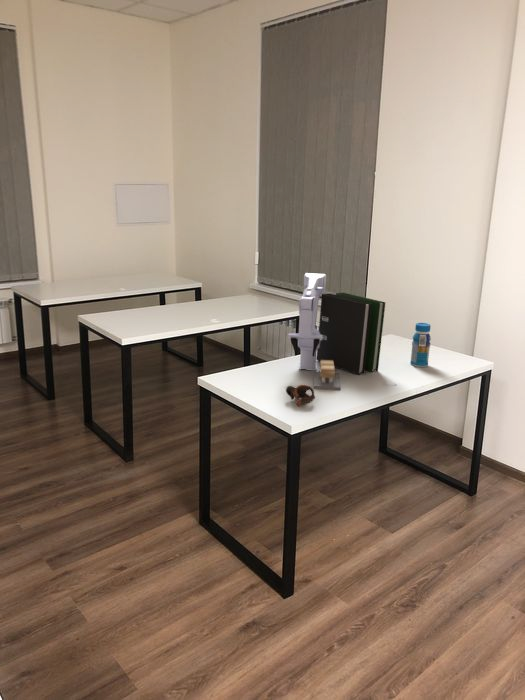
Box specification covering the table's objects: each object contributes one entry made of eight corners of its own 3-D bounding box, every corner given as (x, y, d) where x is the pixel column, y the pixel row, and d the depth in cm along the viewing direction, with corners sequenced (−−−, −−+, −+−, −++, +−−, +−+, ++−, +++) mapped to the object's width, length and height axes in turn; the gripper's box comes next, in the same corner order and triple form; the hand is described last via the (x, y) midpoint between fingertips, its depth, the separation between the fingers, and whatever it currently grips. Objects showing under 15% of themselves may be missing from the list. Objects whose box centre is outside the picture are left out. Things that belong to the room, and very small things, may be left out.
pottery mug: (316, 401, 229) (319, 387, 224) (307, 418, 223) (310, 404, 217) (288, 389, 232) (291, 375, 227) (279, 405, 226) (281, 392, 220)
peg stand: (313, 373, 261) (313, 364, 260) (338, 375, 260) (338, 366, 259) (313, 388, 242) (314, 379, 241) (340, 390, 241) (341, 380, 240)
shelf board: (320, 367, 257) (320, 359, 256) (332, 367, 256) (333, 360, 255) (320, 377, 243) (321, 369, 242) (334, 377, 243) (334, 369, 242)
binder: (378, 371, 268) (386, 302, 260) (356, 375, 259) (363, 304, 251) (337, 356, 289) (343, 292, 281) (315, 360, 280) (320, 294, 272)
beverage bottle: (406, 364, 279) (410, 323, 274) (416, 361, 285) (420, 321, 279) (421, 368, 273) (425, 327, 268) (431, 365, 279) (436, 324, 273)
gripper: (288, 326, 247) (287, 357, 250) (323, 327, 246) (321, 358, 249) (289, 322, 253) (287, 352, 257) (322, 323, 253) (320, 354, 256)
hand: (304, 355), depth 254 cm, fingers open, 7 cm apart
